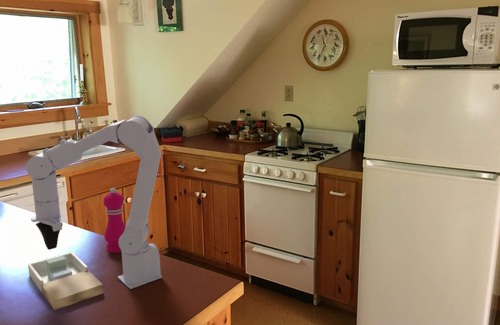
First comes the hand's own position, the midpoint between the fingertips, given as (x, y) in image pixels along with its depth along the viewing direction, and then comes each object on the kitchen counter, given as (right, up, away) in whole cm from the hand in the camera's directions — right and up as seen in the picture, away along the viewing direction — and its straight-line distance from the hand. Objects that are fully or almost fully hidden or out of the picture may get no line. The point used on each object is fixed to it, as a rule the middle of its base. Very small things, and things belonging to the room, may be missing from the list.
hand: (51, 248), depth 116 cm
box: (0, -9, +4) cm, 10 cm away
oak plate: (+7, -11, -4) cm, 14 cm away
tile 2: (+2, -9, +2) cm, 9 cm away
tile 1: (0, -6, +3) cm, 7 cm away
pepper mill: (+11, -5, +22) cm, 25 cm away
